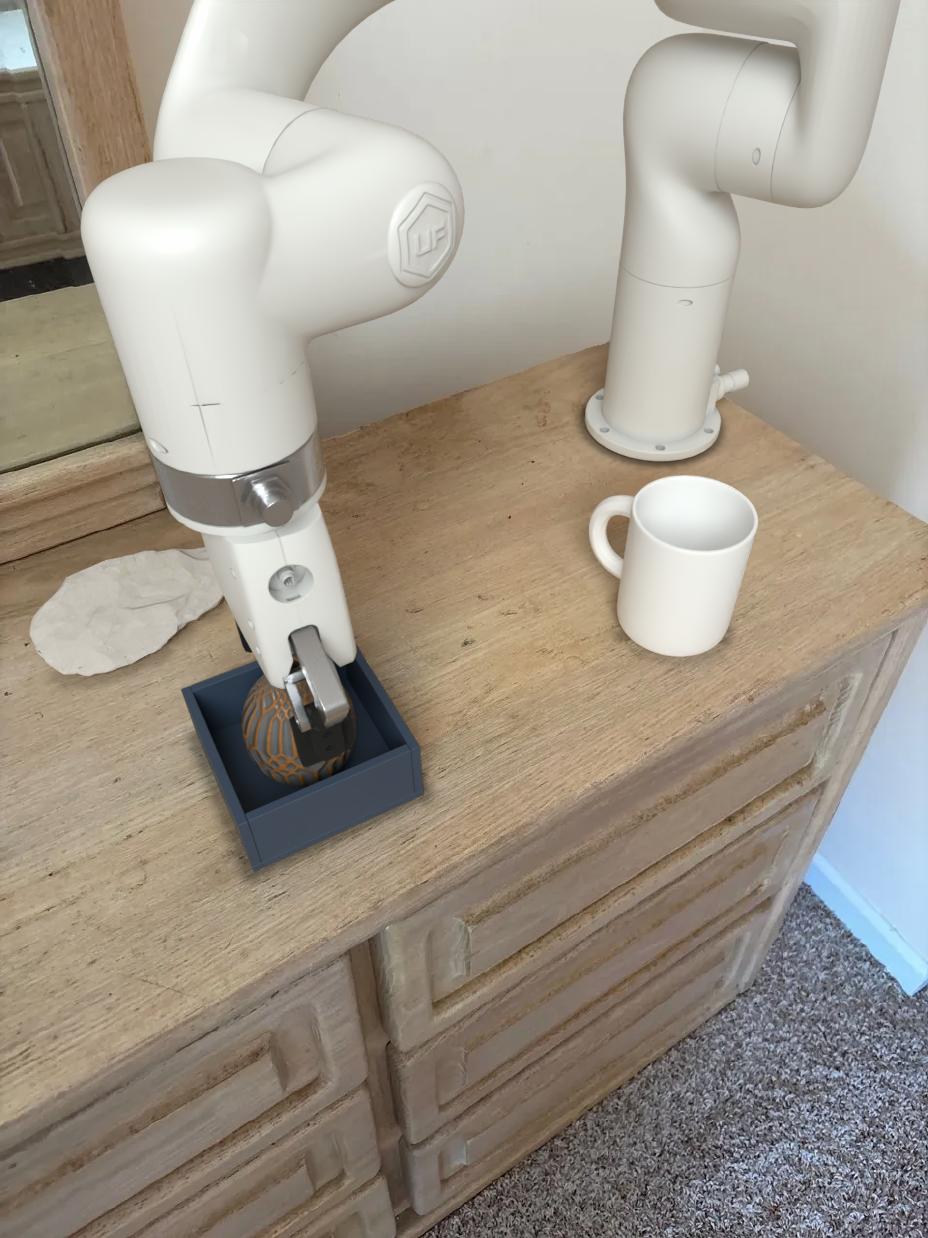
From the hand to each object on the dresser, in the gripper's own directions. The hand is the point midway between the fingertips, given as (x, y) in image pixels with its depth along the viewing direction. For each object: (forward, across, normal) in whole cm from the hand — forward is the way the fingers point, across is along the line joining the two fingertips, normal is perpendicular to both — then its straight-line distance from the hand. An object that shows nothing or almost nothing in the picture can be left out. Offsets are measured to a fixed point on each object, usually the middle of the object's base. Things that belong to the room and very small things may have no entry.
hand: (296, 695), depth 54 cm
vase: (+6, 0, 0) cm, 6 cm away
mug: (+7, +1, -28) cm, 29 cm away
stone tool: (+7, +18, +6) cm, 20 cm away
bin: (+7, 0, 0) cm, 7 cm away
